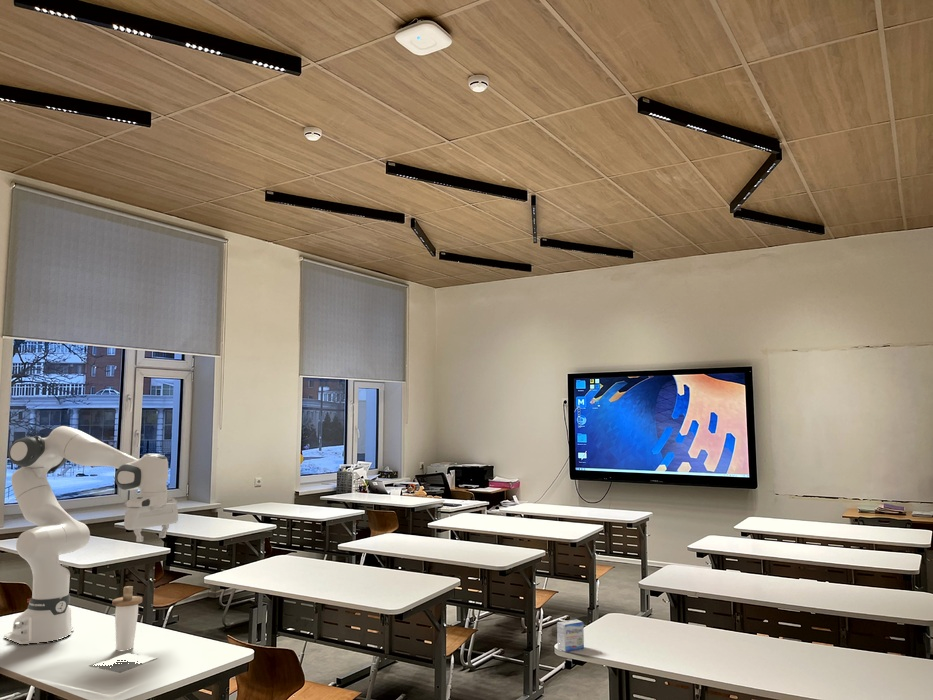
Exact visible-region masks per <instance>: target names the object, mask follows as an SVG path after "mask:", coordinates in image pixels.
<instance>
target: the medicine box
mask: <svg viewBox="0 0 933 700" xmlns="http://www.w3.org/2000/svg"><path fill="white" fill-rule="evenodd" d="M556 629H557V630H556V632H557V633H556V636H557V649H558V650H561V651H562V652H565V653H567V652H573V651H577V650H584V648H585V637H584V635H585V634H584V621H582V620H579V619H577V618H576V619H575V618H574V619H570V620H564V621H558V622H556ZM559 643H560V644H559Z"/></svg>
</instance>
